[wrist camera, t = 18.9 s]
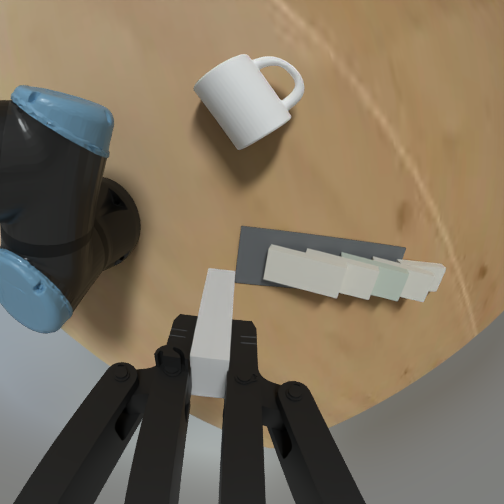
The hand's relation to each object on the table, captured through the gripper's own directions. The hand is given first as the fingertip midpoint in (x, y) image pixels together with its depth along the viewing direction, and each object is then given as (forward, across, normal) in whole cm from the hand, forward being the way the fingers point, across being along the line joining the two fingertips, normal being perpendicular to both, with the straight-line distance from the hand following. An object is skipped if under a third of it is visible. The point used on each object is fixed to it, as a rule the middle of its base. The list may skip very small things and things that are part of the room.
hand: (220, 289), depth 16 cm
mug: (+27, +1, +13) cm, 30 cm away
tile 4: (+25, +24, -12) cm, 37 cm away
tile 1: (+25, +6, -12) cm, 28 cm away
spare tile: (+25, +18, -11) cm, 33 cm away
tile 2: (+25, +12, -12) cm, 30 cm away
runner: (+26, +16, -12) cm, 33 cm away
